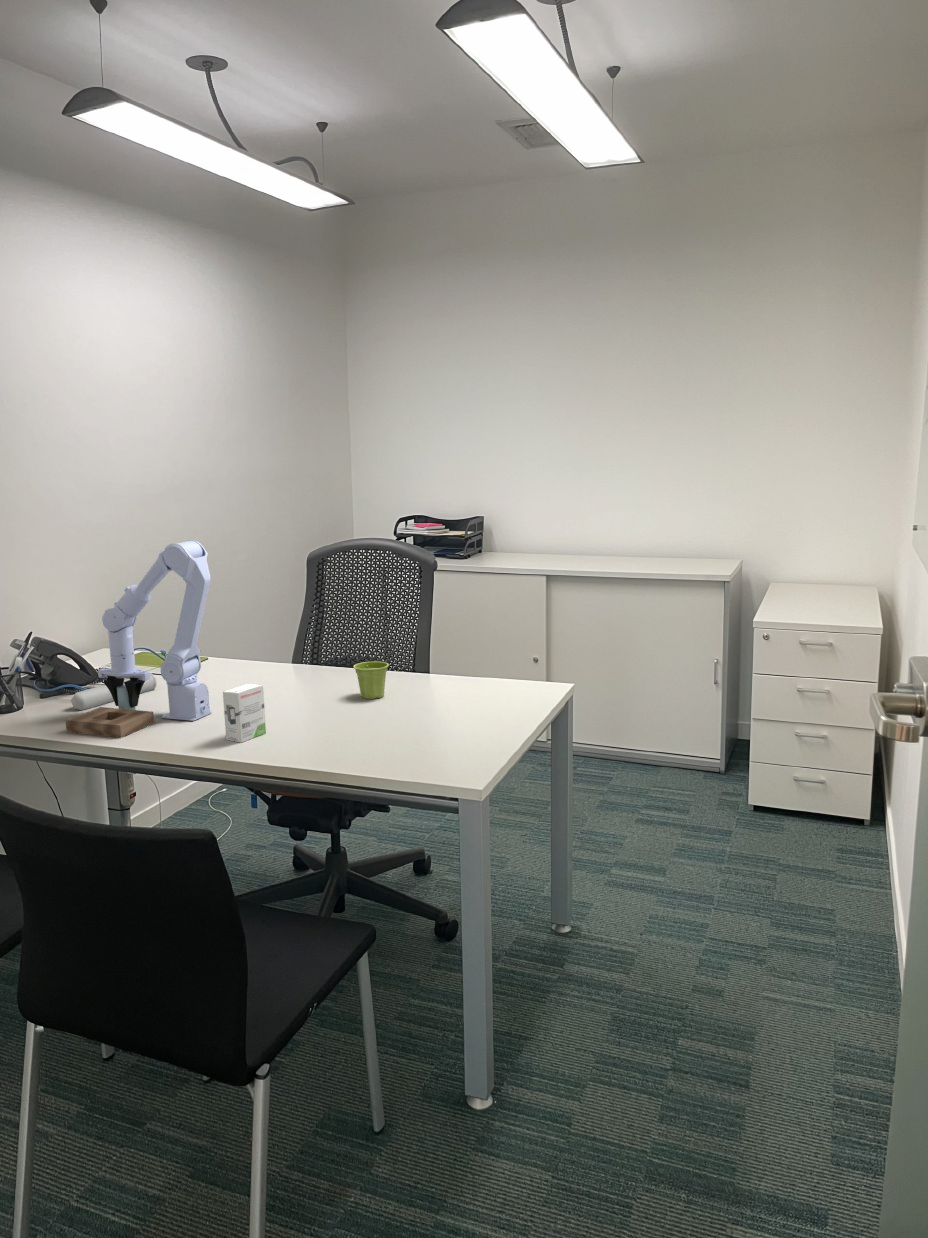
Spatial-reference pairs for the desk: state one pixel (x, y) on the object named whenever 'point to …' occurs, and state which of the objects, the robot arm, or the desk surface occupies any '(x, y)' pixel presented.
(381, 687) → the plant pot
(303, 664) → the desk surface
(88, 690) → the tube
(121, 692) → the peg
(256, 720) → the ink box
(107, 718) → the socket board
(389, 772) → the desk surface
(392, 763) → the desk surface
